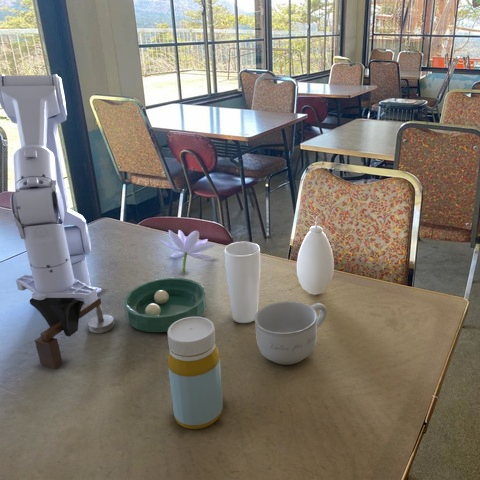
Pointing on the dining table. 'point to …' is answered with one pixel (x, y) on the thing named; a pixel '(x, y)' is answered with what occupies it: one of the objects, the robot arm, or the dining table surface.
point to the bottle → (194, 372)
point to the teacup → (288, 330)
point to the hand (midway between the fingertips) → (65, 331)
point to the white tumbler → (243, 279)
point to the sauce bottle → (315, 261)
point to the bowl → (177, 307)
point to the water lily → (188, 246)
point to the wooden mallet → (48, 344)
